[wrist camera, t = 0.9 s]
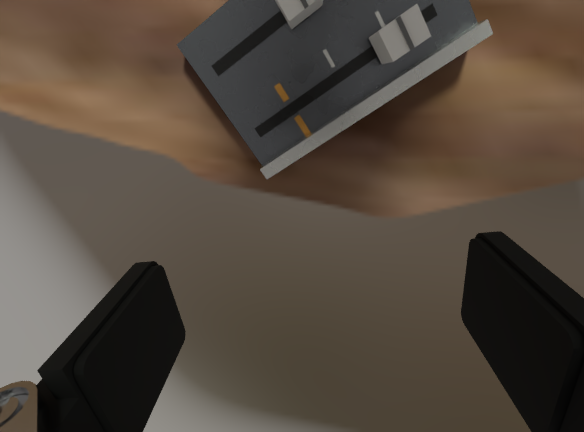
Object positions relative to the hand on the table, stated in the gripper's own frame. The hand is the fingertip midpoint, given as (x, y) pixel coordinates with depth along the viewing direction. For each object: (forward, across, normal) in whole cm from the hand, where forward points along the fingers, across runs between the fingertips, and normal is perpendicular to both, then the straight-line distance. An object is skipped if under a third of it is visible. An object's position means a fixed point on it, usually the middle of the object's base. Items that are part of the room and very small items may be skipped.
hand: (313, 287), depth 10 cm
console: (+25, -2, -8) cm, 26 cm away
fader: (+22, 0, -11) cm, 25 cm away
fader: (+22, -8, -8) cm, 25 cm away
